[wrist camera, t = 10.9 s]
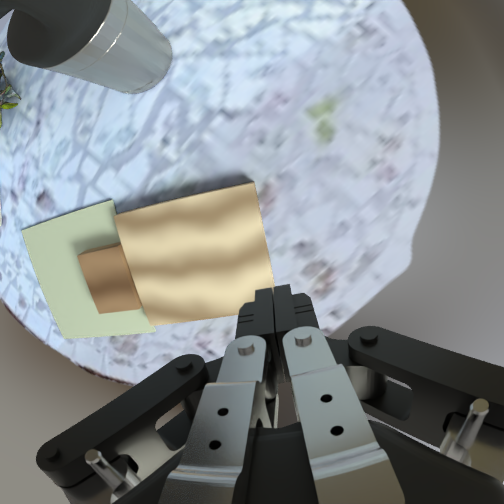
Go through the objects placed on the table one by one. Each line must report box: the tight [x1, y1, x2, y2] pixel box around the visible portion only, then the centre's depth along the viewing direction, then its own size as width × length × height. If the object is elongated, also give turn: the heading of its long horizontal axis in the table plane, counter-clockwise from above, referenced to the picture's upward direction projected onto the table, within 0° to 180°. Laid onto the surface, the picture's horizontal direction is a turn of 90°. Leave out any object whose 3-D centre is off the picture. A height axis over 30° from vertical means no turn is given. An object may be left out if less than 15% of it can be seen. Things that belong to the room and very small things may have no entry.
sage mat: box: [22, 200, 156, 339], centre depth 41 cm, size 20×19×1 cm
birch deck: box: [113, 182, 275, 326], centre depth 38 cm, size 16×18×2 cm
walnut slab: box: [77, 242, 142, 314], centre depth 39 cm, size 9×7×2 cm
